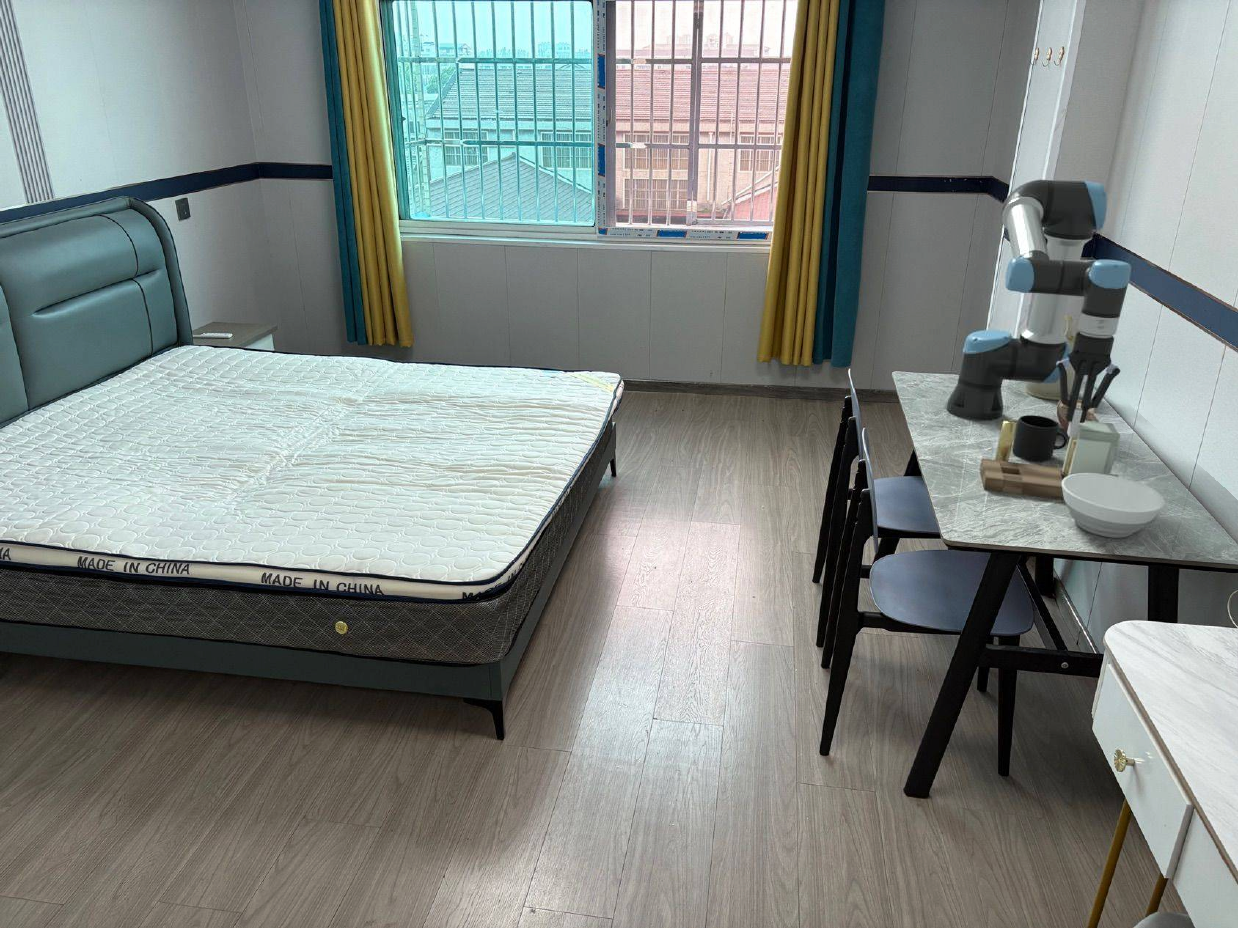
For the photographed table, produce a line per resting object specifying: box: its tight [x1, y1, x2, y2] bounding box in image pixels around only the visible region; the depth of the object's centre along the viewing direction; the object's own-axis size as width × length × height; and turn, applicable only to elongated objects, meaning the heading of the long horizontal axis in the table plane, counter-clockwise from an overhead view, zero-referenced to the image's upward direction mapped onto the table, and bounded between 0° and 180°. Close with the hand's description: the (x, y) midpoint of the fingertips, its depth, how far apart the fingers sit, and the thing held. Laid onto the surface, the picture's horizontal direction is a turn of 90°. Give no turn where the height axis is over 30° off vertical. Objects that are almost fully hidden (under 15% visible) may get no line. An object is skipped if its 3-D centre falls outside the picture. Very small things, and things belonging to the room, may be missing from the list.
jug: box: [1024, 313, 1076, 401], centre depth 270 cm, size 15×16×25 cm
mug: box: [1011, 414, 1068, 462], centre depth 226 cm, size 9×12×9 cm
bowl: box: [1062, 473, 1166, 539], centre depth 190 cm, size 20×20×8 cm
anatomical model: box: [1056, 399, 1100, 434], centre depth 247 cm, size 23×10×5 cm, turn 159°
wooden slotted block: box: [979, 440, 1120, 501], centre depth 207 cm, size 12×30×12 cm, turn 74°
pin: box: [994, 419, 1017, 462], centre depth 217 cm, size 3×3×12 cm
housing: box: [1062, 421, 1121, 476], centre depth 204 cm, size 8×8×13 cm
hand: (1071, 435), depth 203 cm, fingers closed
